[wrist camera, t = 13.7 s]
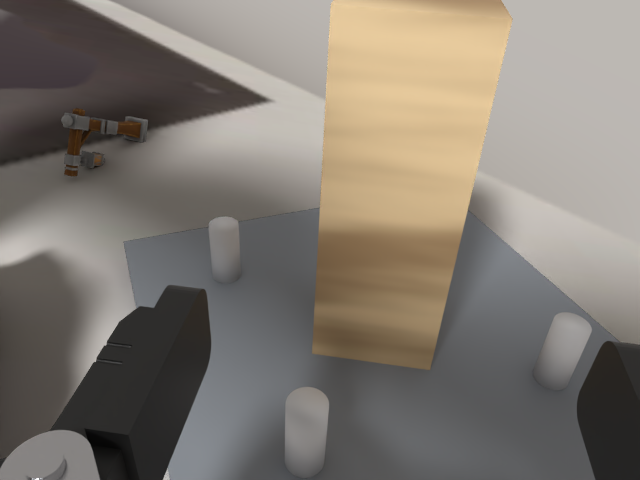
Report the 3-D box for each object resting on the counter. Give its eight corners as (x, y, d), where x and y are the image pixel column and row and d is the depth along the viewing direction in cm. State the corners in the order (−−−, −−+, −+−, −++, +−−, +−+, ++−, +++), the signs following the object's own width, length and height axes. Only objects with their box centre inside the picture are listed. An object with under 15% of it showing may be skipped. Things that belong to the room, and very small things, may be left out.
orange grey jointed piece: (47, 173, 37) (53, 104, 36) (122, 170, 44) (128, 113, 43) (69, 178, 36) (76, 109, 35) (141, 174, 44) (148, 117, 43)
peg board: (208, 678, 15) (195, 608, 13) (127, 263, 30) (113, 193, 28) (705, 455, 22) (762, 379, 19) (437, 206, 37) (449, 144, 34)
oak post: (429, 370, 23) (512, 19, 15) (312, 353, 23) (330, 4, 15) (427, 293, 27) (491, -15, 19) (327, 280, 27) (348, -26, 19)
